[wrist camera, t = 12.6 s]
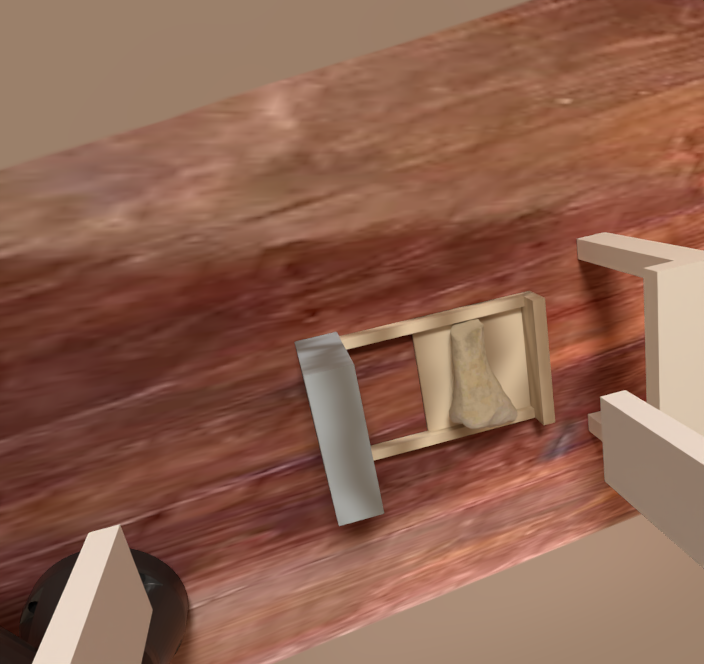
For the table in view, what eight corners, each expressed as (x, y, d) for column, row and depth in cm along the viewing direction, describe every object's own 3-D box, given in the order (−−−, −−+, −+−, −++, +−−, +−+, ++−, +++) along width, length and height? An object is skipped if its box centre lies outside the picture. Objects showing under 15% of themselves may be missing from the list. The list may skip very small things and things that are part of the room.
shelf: (567, 436, 60) (661, 516, 46) (552, 244, 53) (657, 271, 40) (635, 418, 61) (747, 491, 47) (629, 226, 54) (757, 247, 41)
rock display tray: (325, 471, 56) (339, 526, 48) (294, 341, 52) (303, 376, 43) (540, 413, 59) (590, 456, 50) (528, 286, 54) (581, 308, 46)
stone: (510, 408, 57) (532, 430, 53) (455, 435, 57) (472, 459, 53) (473, 313, 54) (493, 328, 49) (414, 342, 53) (429, 359, 49)
